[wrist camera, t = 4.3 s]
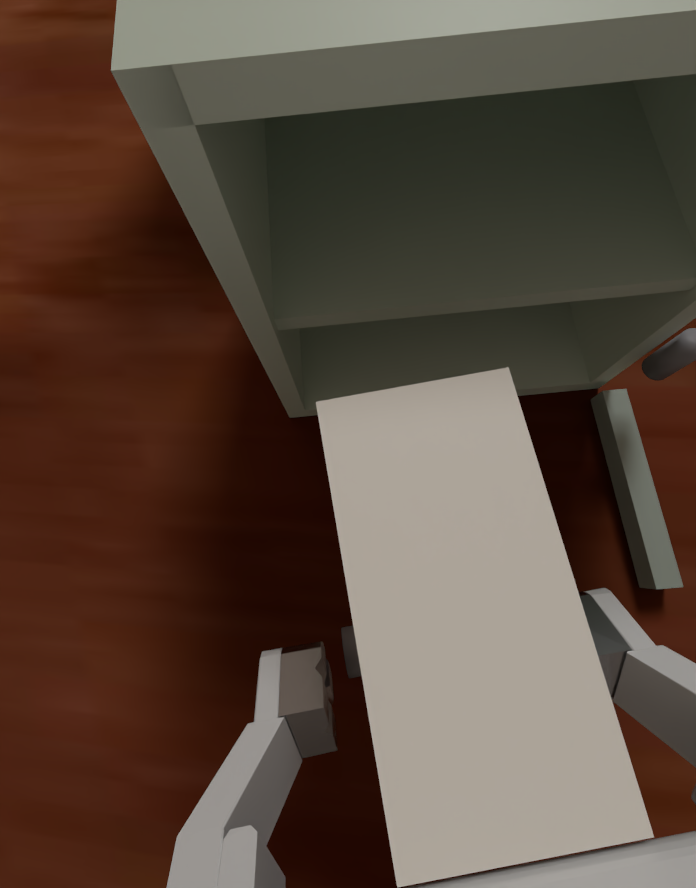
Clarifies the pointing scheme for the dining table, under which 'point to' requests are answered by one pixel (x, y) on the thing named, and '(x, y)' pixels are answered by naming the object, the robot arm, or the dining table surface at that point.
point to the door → (470, 635)
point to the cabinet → (439, 194)
